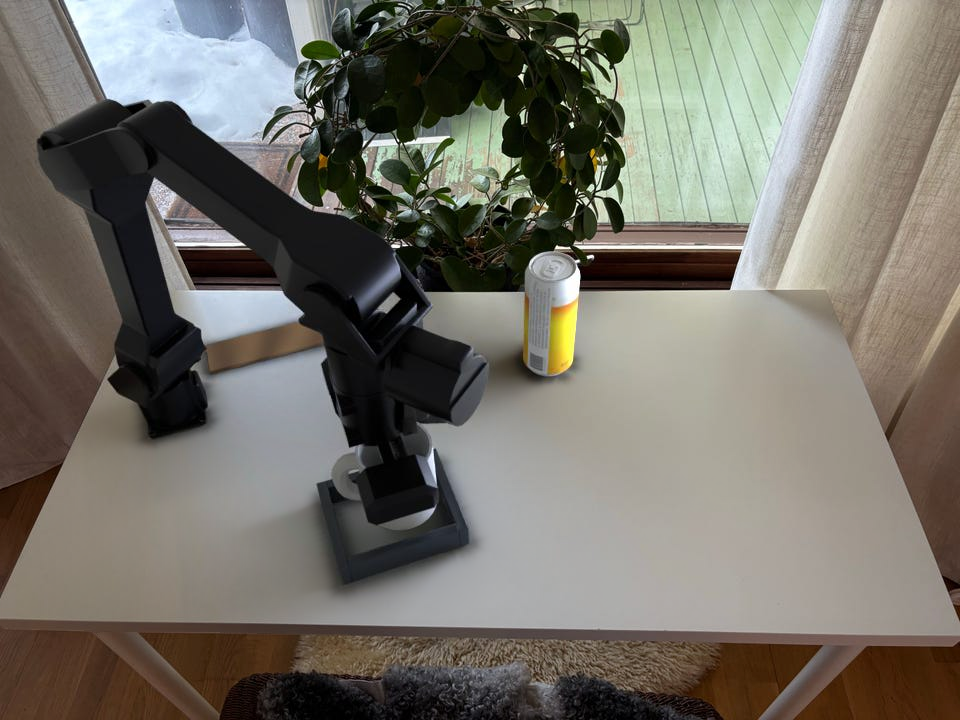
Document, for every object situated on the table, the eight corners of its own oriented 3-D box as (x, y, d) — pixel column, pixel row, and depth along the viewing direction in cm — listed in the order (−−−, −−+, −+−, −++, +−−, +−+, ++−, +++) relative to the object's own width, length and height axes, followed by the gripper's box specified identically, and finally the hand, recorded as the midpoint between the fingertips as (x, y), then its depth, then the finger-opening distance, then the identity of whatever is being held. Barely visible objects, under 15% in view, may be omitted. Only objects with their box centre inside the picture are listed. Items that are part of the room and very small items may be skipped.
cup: (439, 530, 77) (433, 475, 71) (336, 536, 77) (321, 482, 70) (437, 471, 82) (431, 415, 76) (341, 476, 82) (328, 421, 76)
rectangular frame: (343, 585, 76) (338, 569, 74) (321, 499, 83) (316, 483, 81) (469, 543, 79) (468, 527, 77) (437, 464, 86) (435, 447, 84)
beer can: (579, 352, 98) (588, 257, 87) (562, 385, 94) (569, 289, 83) (534, 339, 100) (537, 244, 89) (515, 370, 96) (516, 275, 85)
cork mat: (210, 374, 97) (209, 371, 96) (206, 347, 100) (205, 344, 100) (330, 343, 100) (329, 340, 100) (322, 318, 103) (321, 315, 103)
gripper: (496, 426, 61) (497, 535, 72) (426, 281, 73) (436, 393, 84) (355, 466, 58) (379, 573, 69) (307, 310, 71) (334, 421, 82)
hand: (385, 482), depth 76 cm, fingers closed on cup, 7 cm apart
